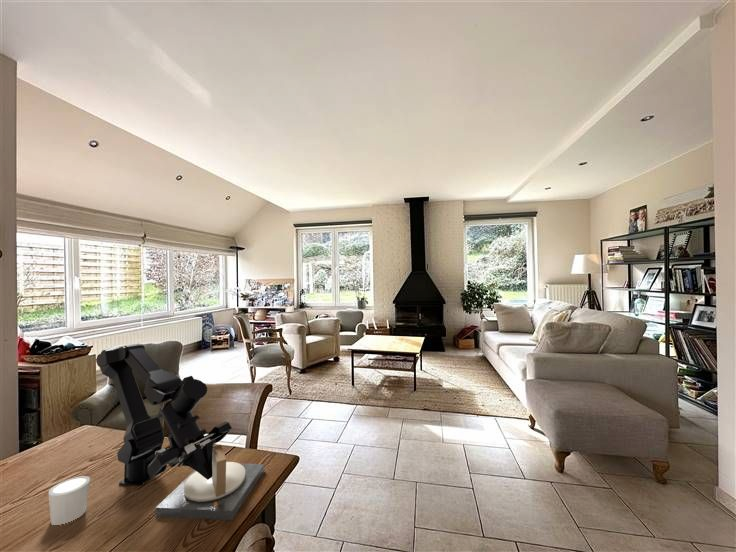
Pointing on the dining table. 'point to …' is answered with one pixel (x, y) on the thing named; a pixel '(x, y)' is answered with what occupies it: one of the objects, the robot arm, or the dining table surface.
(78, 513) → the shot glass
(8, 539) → the dining table surface
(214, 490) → the dial
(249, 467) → the dial plate
